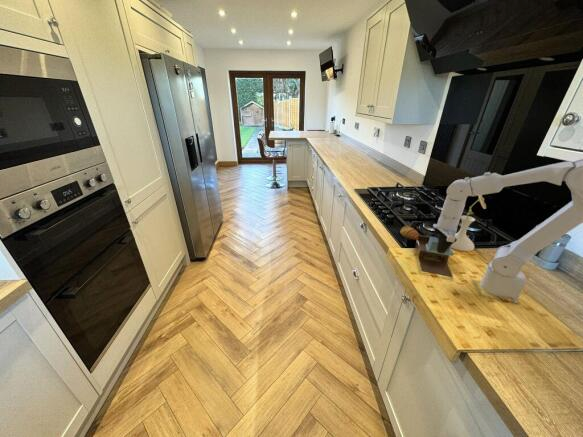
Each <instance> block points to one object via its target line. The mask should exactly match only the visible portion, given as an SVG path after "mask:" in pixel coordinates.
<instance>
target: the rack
mask: <svg viewBox="0 0 583 437" xmlns="http://www.w3.org/2000/svg"><path fill="white" fill-rule="evenodd" d="M429 239H430V236H428V235H423V234H422V235H421V234H420V235H418V238H417V240H416V242H415V246H414V247H415V250H416V254H417V257H418V263H419V267H420V271H421V272H423V273H429V274H434V275H438V276H443V277H448V278H454V276H453V273H452V271H451V268H450V266H449V264H448V260H449V258H450V256H449V255H443V254H437V253H431V252H427V249H426V244H428V242H429ZM423 254H427V255H432V256H438V257H441V260H442V261H441V260H437V259H436V260H435V259H430V258H424V257H423Z"/></svg>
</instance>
